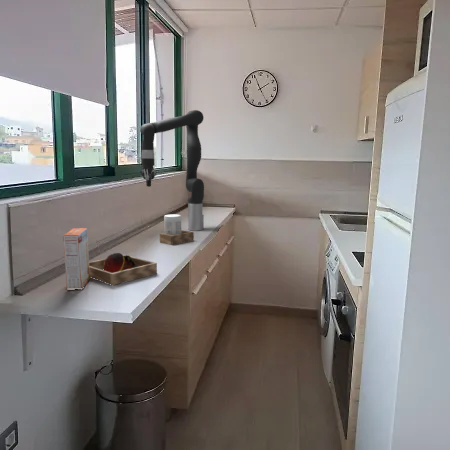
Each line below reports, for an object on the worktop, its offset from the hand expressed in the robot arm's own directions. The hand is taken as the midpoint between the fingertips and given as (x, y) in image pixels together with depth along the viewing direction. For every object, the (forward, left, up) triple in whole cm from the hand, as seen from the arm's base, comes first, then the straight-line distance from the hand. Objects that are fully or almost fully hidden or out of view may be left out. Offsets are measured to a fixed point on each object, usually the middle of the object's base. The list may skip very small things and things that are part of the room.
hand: (148, 186), depth 265 cm
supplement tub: (+6, +28, -29) cm, 41 cm away
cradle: (+6, +30, -29) cm, 42 cm away
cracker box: (+86, +62, -29) cm, 110 cm away
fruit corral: (+67, +61, -29) cm, 95 cm away
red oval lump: (+65, +58, -29) cm, 92 cm away
